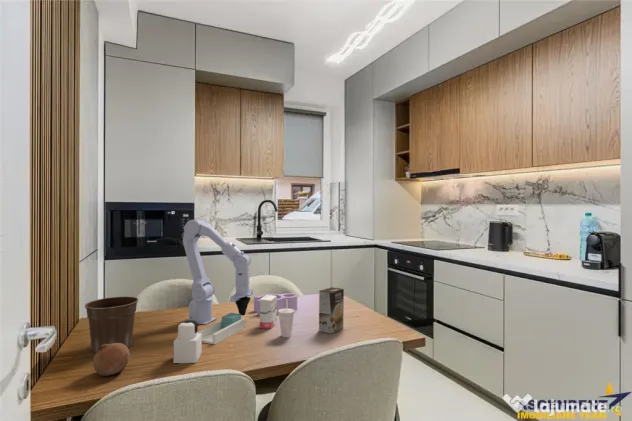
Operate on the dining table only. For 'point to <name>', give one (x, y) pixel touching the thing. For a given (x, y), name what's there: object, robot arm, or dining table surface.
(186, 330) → the medicine bottle
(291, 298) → the purple cup holder
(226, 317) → the block
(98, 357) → the brown rounded lump
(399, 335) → the dining table surface
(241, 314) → the robot arm
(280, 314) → the smoothie
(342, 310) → the coffee box
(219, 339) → the chute
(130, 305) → the plant pot
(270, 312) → the ink box
